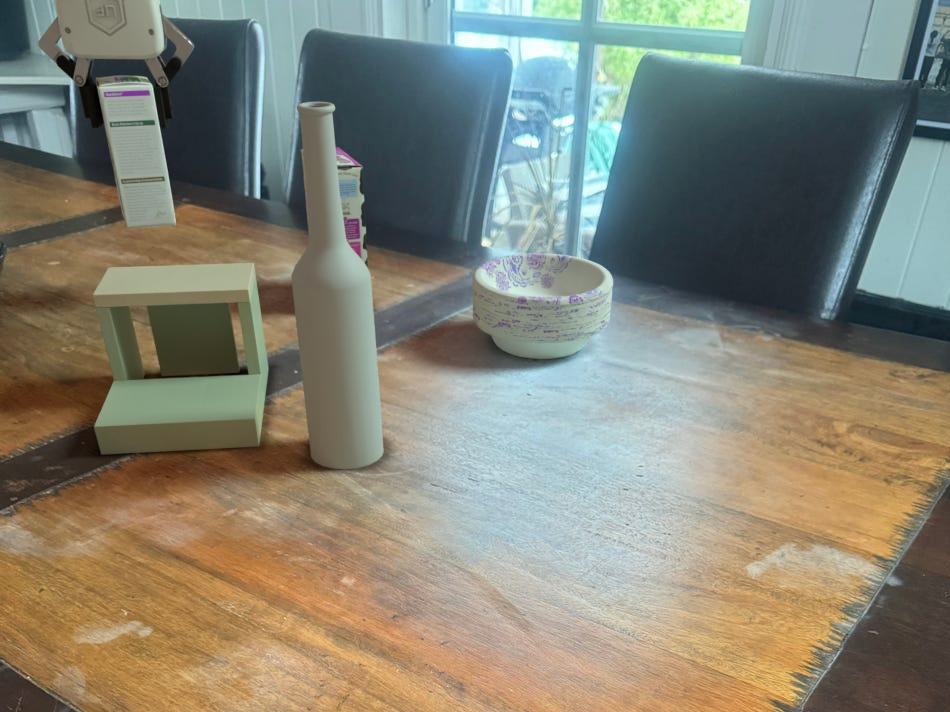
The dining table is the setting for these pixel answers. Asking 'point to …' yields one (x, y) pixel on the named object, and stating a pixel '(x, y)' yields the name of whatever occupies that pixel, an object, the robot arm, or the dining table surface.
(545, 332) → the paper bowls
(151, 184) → the syrup box
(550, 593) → the dining table surface
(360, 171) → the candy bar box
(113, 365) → the shelf
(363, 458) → the bottle
